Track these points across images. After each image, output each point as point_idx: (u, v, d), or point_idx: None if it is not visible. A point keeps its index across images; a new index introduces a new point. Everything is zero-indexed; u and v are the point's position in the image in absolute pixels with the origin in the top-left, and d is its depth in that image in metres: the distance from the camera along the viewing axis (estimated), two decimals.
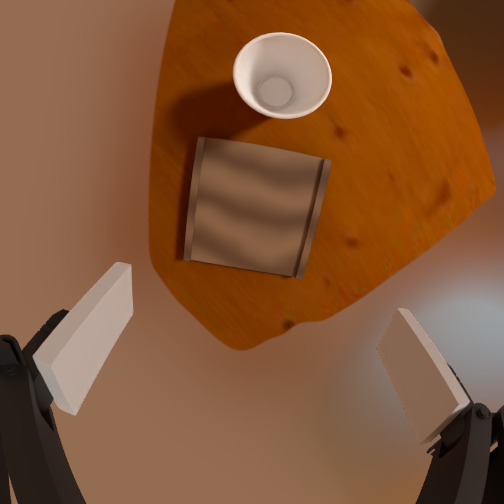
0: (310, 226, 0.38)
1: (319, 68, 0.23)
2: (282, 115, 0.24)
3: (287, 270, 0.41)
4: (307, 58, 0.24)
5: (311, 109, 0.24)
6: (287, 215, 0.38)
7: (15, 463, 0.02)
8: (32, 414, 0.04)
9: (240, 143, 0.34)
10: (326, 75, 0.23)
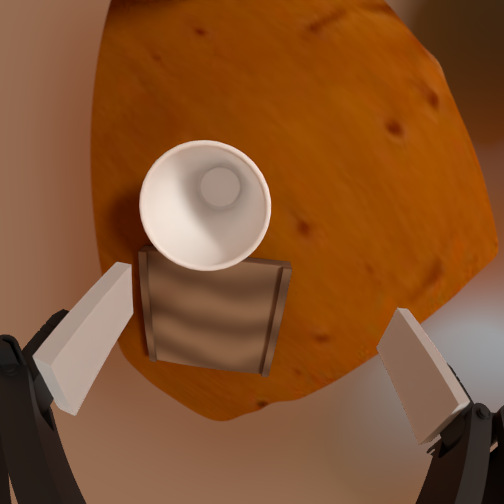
0: (271, 335, 0.34)
1: (258, 180, 0.20)
2: (207, 267, 0.21)
3: (252, 369, 0.38)
4: (242, 163, 0.21)
5: (243, 256, 0.20)
6: (246, 325, 0.34)
7: (15, 463, 0.02)
8: (32, 414, 0.04)
9: None
10: None
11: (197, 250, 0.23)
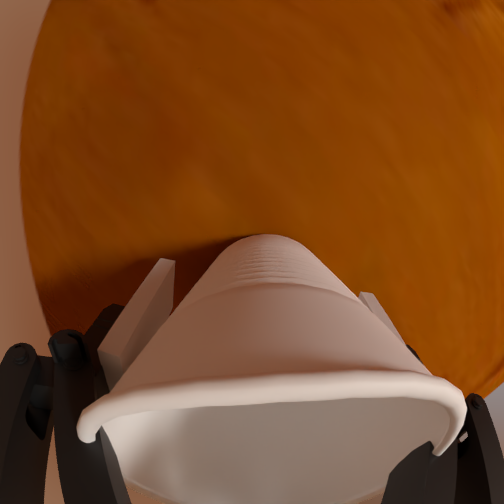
0: None
1: None
2: None
3: None
4: None
5: None
6: None
7: (68, 460, 0.03)
8: None
9: None
10: (426, 441, 0.05)
11: (232, 466, 0.09)
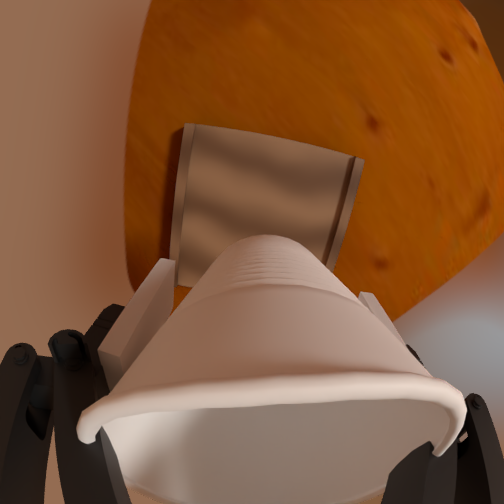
0: (333, 246, 0.28)
1: None
2: None
3: None
4: None
5: None
6: (304, 231, 0.28)
7: (68, 460, 0.03)
8: None
9: (243, 132, 0.24)
10: None
11: (232, 466, 0.09)
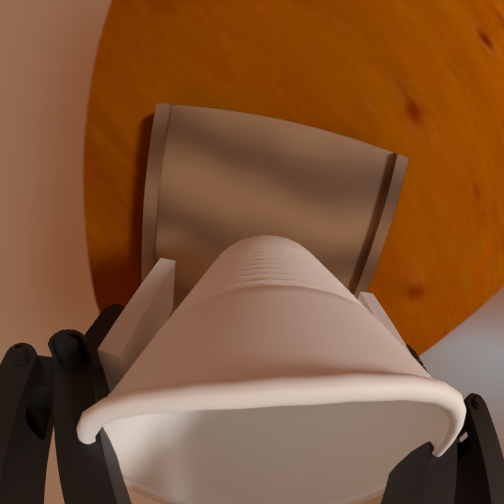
0: (363, 275, 0.20)
1: None
2: None
3: None
4: None
5: None
6: (325, 255, 0.20)
7: (68, 460, 0.03)
8: None
9: (239, 115, 0.16)
10: None
11: (232, 467, 0.09)
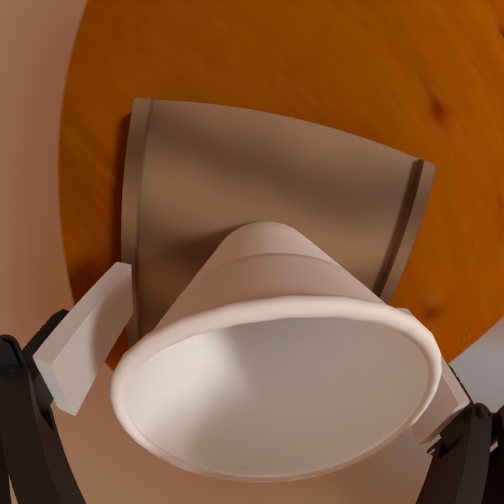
0: None
1: (402, 347, 0.08)
2: (268, 480, 0.08)
3: None
4: None
5: (339, 468, 0.08)
6: None
7: (15, 463, 0.02)
8: (32, 414, 0.04)
9: (235, 111, 0.13)
10: (412, 395, 0.07)
11: (239, 432, 0.10)
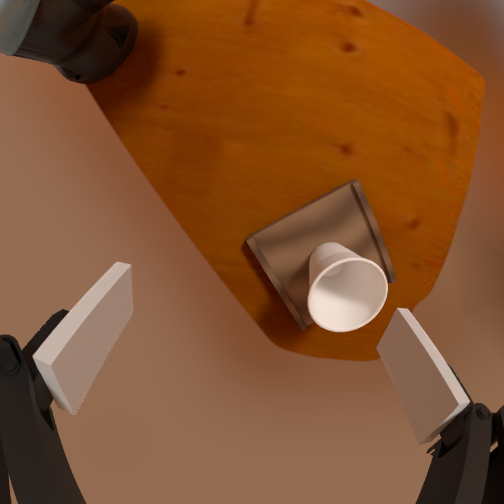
0: (378, 241, 0.38)
1: None
2: (365, 322, 0.31)
3: None
4: (351, 254, 0.31)
5: (382, 305, 0.30)
6: (356, 246, 0.39)
7: (15, 463, 0.02)
8: (32, 414, 0.04)
9: (282, 221, 0.38)
10: (377, 270, 0.29)
11: (350, 314, 0.33)
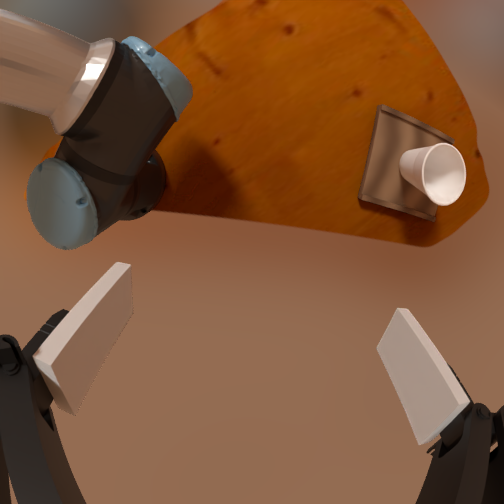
0: (424, 127, 0.38)
1: None
2: (464, 180, 0.32)
3: None
4: None
5: (463, 161, 0.31)
6: (416, 142, 0.40)
7: (15, 463, 0.02)
8: (32, 414, 0.04)
9: (369, 168, 0.43)
10: None
11: (453, 184, 0.35)
